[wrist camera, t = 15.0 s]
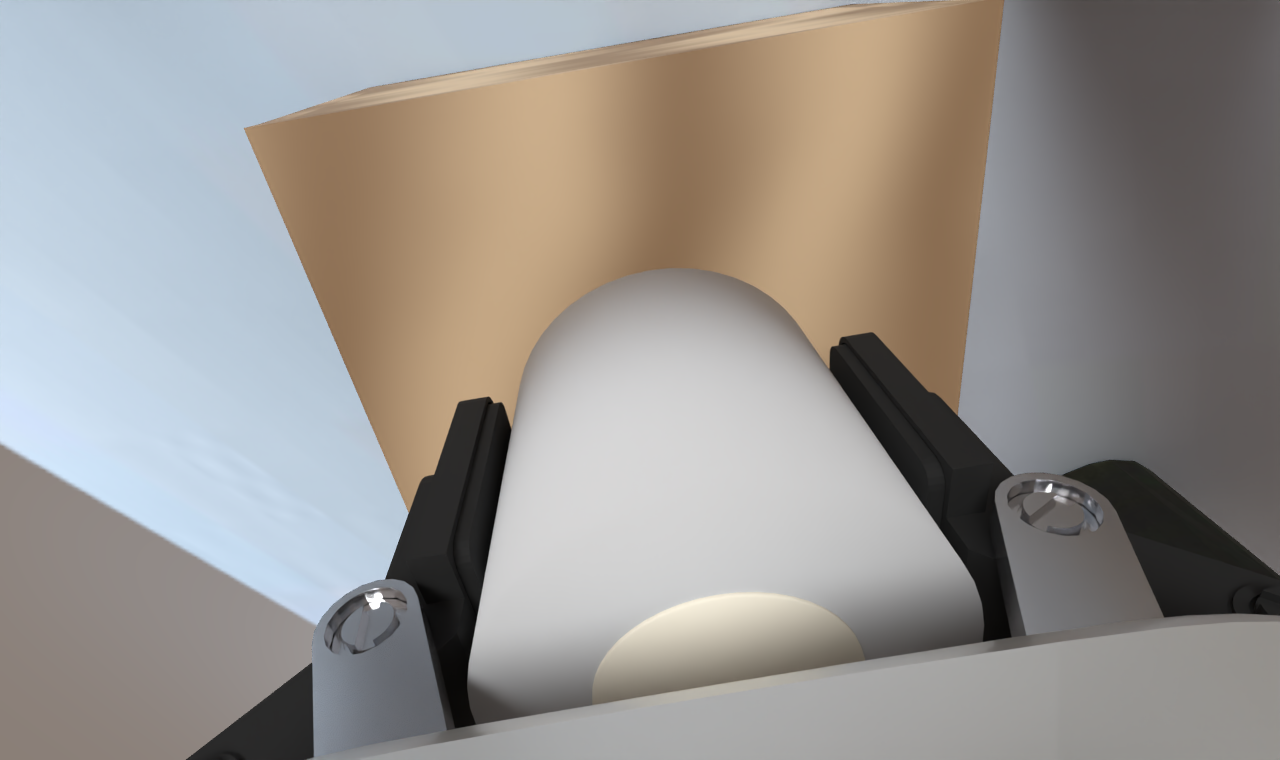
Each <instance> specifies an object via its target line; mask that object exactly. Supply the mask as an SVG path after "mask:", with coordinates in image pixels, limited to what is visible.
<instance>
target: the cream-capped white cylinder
mask: <svg viewBox="0 0 1280 760" xmlns="http://www.w3.org/2000/svg"><path fill="white" fill-rule="evenodd" d="M983 632H984V619H983V610H982V602H981V600H980V597H979V594H978V591H977V588H976V585H975V582H974V580H973V579H972V577H971V575H970V574H969V572H968V570H967V569H966V567H965V565H964V564H963V562H962V561H961V559H960V558H959V556H958V555H957V553H956V552H955V550H954V549H953V548H952V546H951V545H950V543H949V542H948V540H947V539H946V537H945V536H944V535H943V533H942V532H941V530H940V529H939V527H938V526H937V524H936V523H935V522H934V520H933V519H932V517H931V516H930V514H929V513H928V511H927V510H926V509H925V507H924V506H923V504H922V503H921V501H920V500H919V498H918V497H917V496H916V494H915V493H914V491H913V490H912V488H911V487H910V485H909V484H908V483H907V481H906V480H905V478H904V477H903V475H902V474H901V472H900V471H899V469H898V468H897V467H896V465H895V464H894V462H893V461H892V459H891V458H890V456H889V455H888V454H887V452H886V451H885V449H884V448H883V446H882V445H881V443H880V442H879V441H878V439H877V438H876V436H875V435H874V433H873V432H872V430H871V429H870V428H869V426H868V425H867V423H866V422H865V420H864V419H863V417H862V416H861V415H860V413H859V412H858V410H857V409H856V407H855V406H854V404H853V403H852V402H851V400H850V399H849V397H848V396H847V394H846V393H845V391H844V390H843V389H842V387H841V386H840V384H839V383H838V381H837V380H836V378H835V377H834V376H833V374H832V373H831V371H830V370H829V368H828V367H827V365H826V364H825V363H824V361H823V360H822V358H821V357H820V355H819V354H818V352H817V351H816V350H815V348H814V347H813V345H812V344H811V342H810V341H809V339H808V338H807V337H806V335H805V334H804V332H803V331H802V329H801V328H800V326H799V325H798V324H797V322H796V321H795V320H794V319H793V318H792V316H791V315H790V314H789V313H788V312H787V311H786V310H785V308H783V307H782V306H781V305H780V304H779V303H778V302H776V301H775V300H774V299H773V298H772V297H770V296H769V295H767V294H766V293H764V292H763V291H761V290H759V289H758V288H756V287H754V286H753V285H750V284H748V283H746V282H744V281H741V280H739V279H737V278H734V277H731V276H727V275H724V274H721V273H717V272H713V271H706V270H699V269H689V268H667V269H658V270H649V271H644V272H640V273H636V274H632V275H627V276H625V277H622V278H619V279H616V280H614V281H611V282H608V283H606V284H604V285H602V286H600V287H598V288H596V289H594V290H592V291H590V292H589V293H587V294H585V295H584V296H582V297H581V298H580V299H578V300H577V301H575V302H574V303H572V304H571V305H570V306H568V307H567V308H566V309H565V310H564V311H563V312H562V313H561V314H560V315H559V316H558V317H556V318H555V319H554V320H553V322H552V323H551V324H550V325H549V326H548V328H547V329H546V330H545V331H544V332H543V334H542V335H541V337H540V338H539V340H538V341H537V343H536V345H535V346H534V348H533V349H532V351H531V353H530V356H529V358H528V360H527V363H526V365H525V367H524V371H523V375H522V378H521V382H520V386H519V392H518V397H517V403H516V408H515V414H514V419H513V425H512V430H511V436H510V441H509V447H508V452H507V457H506V463H505V468H504V474H503V479H502V485H501V490H500V496H499V501H498V507H497V512H496V518H495V523H494V528H493V534H492V539H491V545H490V550H489V556H488V561H487V567H486V572H485V578H484V583H483V589H482V594H481V599H480V605H479V610H478V616H477V621H476V627H475V632H474V638H473V643H472V649H471V654H470V660H469V667H468V680H467V690H468V697H469V704H470V709H471V712H472V715H473V717H474V720H475V723H476V725H479V724H485V723H491V722H496V721H502V720H508V719H514V718H520V717H526V716H532V715H538V714H544V713H550V712H556V711H562V710H567V709H573V708H579V707H585V706H591V705H597V704H603V703H609V702H615V701H621V700H627V699H633V698H639V697H645V696H651V695H657V694H663V693H669V692H675V691H681V690H687V689H693V688H699V687H705V686H712V685H718V684H724V683H730V682H736V681H742V680H748V679H754V678H761V677H767V676H773V675H779V674H785V673H791V672H798V671H804V670H810V669H816V668H822V667H828V666H834V665H841V664H847V663H853V662H860V661H866V660H872V659H879V658H885V657H891V656H898V655H904V654H910V653H917V652H923V651H929V650H936V649H942V648H948V647H955V646H961V645H967V644H974V643H980V642H983Z"/></svg>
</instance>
